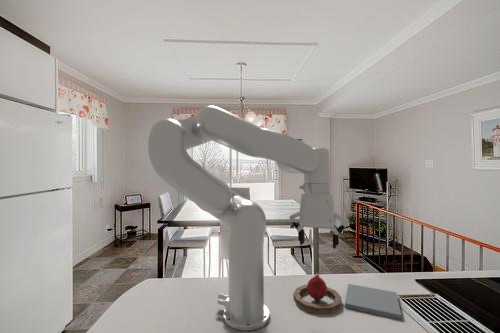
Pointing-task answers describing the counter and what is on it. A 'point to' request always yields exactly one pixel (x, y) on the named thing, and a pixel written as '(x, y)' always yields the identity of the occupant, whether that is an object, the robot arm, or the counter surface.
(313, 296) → the onion
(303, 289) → the ring holder
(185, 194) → the robot arm
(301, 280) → the counter surface
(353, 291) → the board
